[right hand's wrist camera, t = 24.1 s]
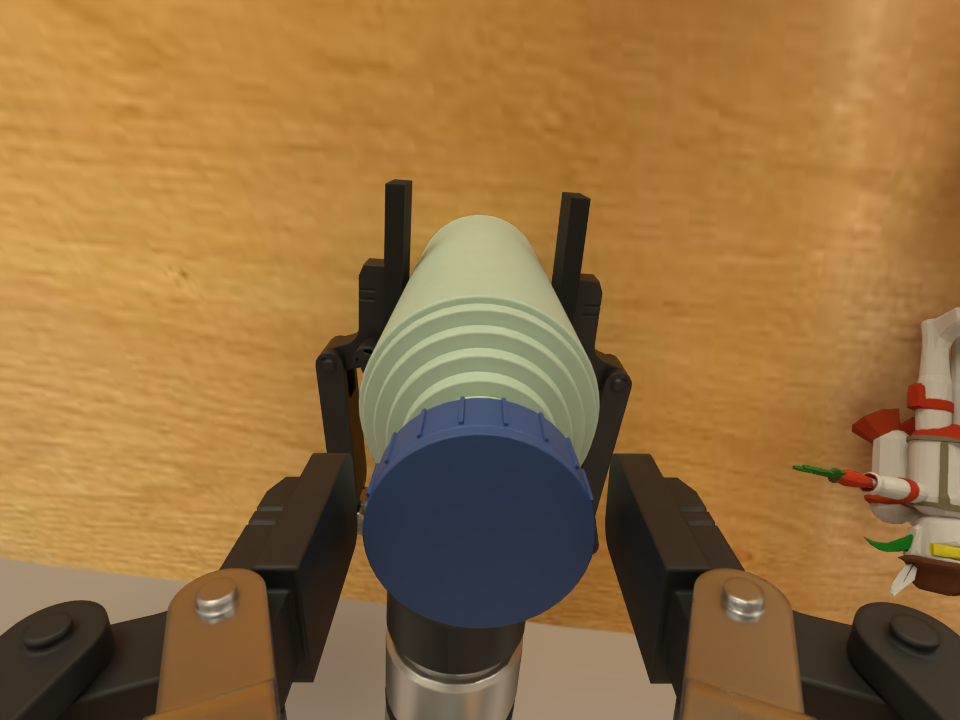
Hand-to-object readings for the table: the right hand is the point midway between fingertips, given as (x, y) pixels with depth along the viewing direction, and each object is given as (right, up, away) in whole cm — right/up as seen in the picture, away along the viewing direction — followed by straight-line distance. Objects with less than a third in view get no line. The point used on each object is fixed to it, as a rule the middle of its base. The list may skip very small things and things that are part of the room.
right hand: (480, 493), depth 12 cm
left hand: (0, +10, +12) cm, 15 cm away
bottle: (0, +7, +20) cm, 21 cm away
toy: (+25, 0, +23) cm, 34 cm away
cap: (0, 0, -1) cm, 1 cm away
